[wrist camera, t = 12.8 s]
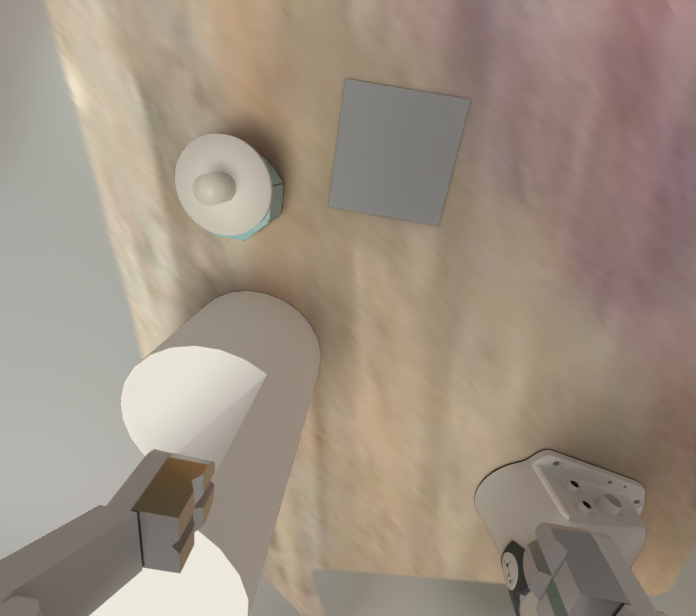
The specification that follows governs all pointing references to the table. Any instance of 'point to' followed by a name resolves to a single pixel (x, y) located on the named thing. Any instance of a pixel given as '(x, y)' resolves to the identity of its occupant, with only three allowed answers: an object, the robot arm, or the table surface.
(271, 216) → the cup
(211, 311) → the cylinder
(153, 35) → the table surface
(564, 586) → the robot arm
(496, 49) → the table surface
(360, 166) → the mat
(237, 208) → the lid
